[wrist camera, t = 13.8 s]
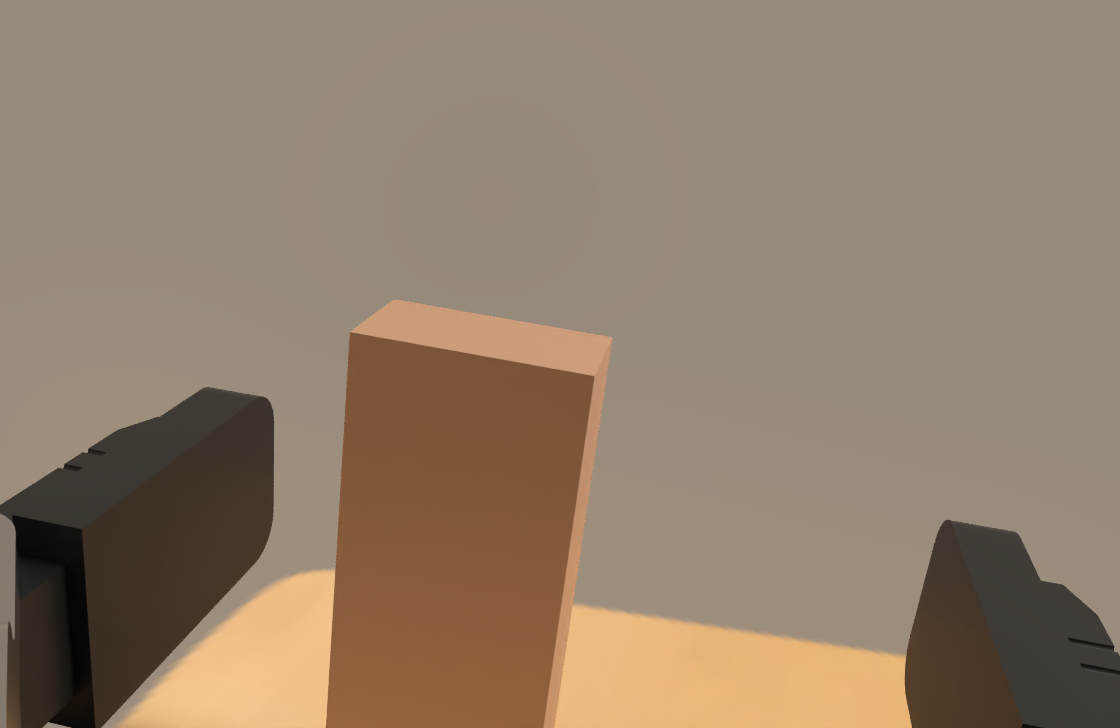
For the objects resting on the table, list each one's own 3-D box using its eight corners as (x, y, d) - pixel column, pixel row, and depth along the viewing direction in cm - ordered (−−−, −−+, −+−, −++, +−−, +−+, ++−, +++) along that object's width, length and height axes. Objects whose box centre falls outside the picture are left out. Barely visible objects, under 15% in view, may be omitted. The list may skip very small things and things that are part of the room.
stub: (544, 794, 30) (612, 337, 25) (522, 873, 27) (594, 375, 22) (360, 750, 30) (394, 299, 26) (320, 824, 27) (349, 331, 23)
